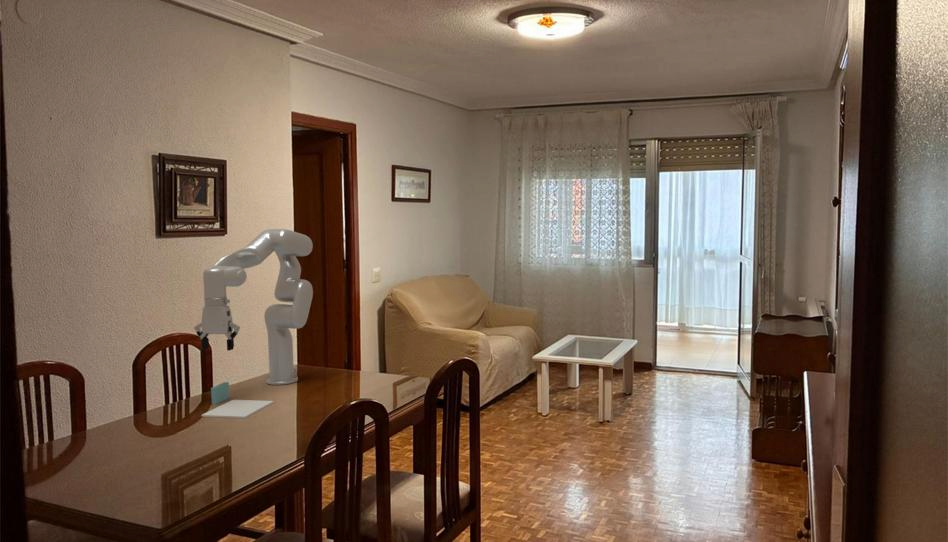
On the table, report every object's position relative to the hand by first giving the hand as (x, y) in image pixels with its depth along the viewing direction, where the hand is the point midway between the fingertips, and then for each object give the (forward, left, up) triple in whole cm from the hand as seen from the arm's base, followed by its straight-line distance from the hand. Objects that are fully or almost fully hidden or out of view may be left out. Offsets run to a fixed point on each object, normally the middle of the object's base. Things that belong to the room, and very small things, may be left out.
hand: (218, 349), depth 255 cm
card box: (-1, -1, -19) cm, 19 cm away
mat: (+9, +12, -19) cm, 24 cm away
